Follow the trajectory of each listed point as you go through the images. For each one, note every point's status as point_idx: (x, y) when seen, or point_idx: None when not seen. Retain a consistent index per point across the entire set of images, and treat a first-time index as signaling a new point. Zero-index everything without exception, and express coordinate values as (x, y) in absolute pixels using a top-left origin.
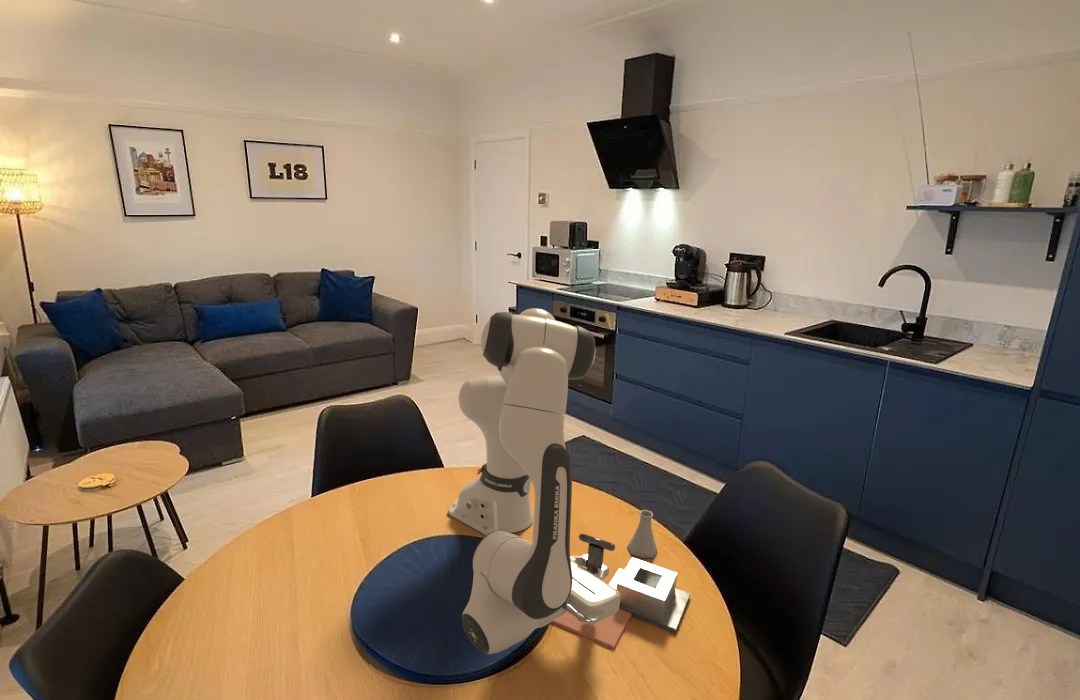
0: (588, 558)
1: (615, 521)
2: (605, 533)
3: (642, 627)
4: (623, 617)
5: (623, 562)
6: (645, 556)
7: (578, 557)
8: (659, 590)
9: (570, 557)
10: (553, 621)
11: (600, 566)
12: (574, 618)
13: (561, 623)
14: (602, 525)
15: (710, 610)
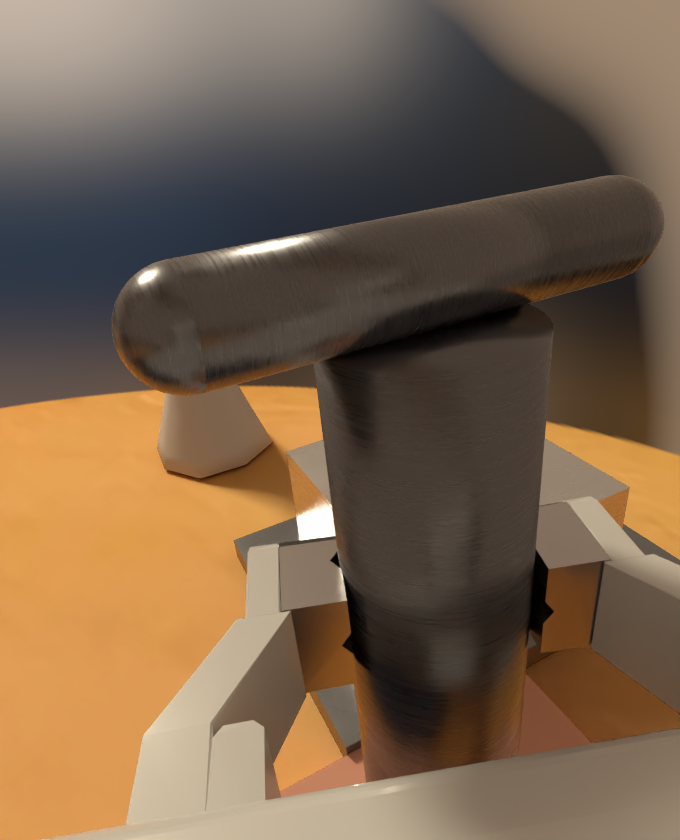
0: (420, 561)
1: (46, 439)
2: (47, 485)
3: (611, 675)
4: (532, 717)
5: (210, 517)
6: (252, 452)
7: (249, 660)
8: (547, 471)
9: (162, 772)
10: None
11: (542, 541)
12: None
13: None
14: (12, 473)
15: (576, 445)
